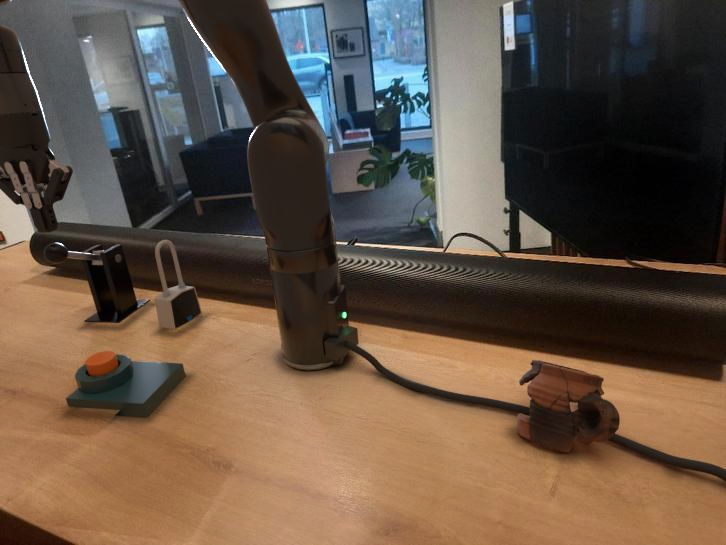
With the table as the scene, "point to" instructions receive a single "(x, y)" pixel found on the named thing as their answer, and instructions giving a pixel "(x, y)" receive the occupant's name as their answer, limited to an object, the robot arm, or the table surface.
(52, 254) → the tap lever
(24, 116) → the robot arm
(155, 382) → the control block
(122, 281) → the black lever base
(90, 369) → the button
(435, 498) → the table surface
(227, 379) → the table surface
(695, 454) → the table surface
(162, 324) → the padlock
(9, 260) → the table surface
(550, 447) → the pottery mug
